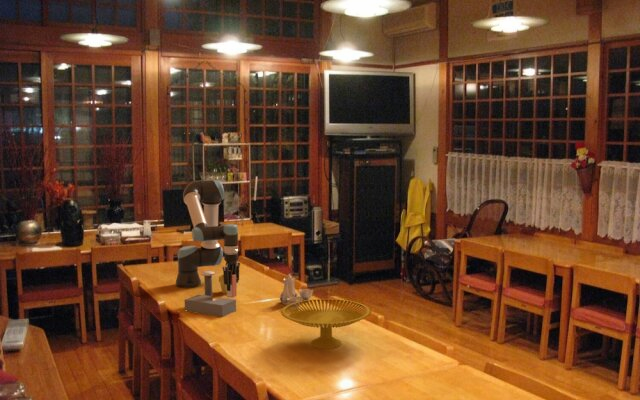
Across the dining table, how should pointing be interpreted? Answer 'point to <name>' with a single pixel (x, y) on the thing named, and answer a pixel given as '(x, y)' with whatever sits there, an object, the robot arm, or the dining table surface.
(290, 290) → the chinaware
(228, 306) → the notched board
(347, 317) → the pedestal fruit bowl
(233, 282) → the tab
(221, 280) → the plant pot
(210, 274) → the bobbin
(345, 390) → the dining table surface
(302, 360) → the dining table surface
